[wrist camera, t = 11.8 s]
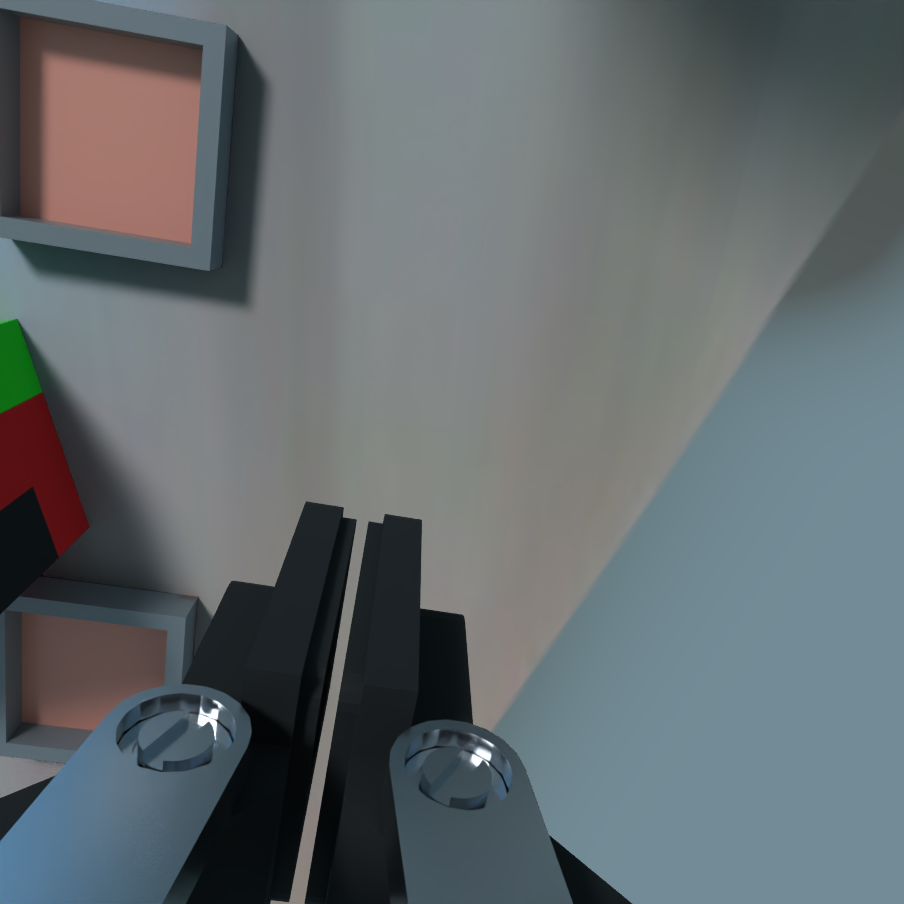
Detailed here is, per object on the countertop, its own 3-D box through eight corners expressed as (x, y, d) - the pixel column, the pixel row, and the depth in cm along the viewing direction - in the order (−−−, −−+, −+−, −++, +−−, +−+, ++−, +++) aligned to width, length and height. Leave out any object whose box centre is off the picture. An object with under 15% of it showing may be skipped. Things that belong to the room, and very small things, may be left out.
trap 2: (3, -8, 30) (-26, -22, 28) (238, 35, 31) (226, 25, 29) (5, 231, 33) (-21, 234, 31) (221, 266, 34) (209, 270, 32)
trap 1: (8, 572, 38) (-14, 592, 36) (197, 597, 39) (185, 617, 37) (10, 728, 41) (-11, 754, 39) (186, 748, 41) (174, 775, 39)
